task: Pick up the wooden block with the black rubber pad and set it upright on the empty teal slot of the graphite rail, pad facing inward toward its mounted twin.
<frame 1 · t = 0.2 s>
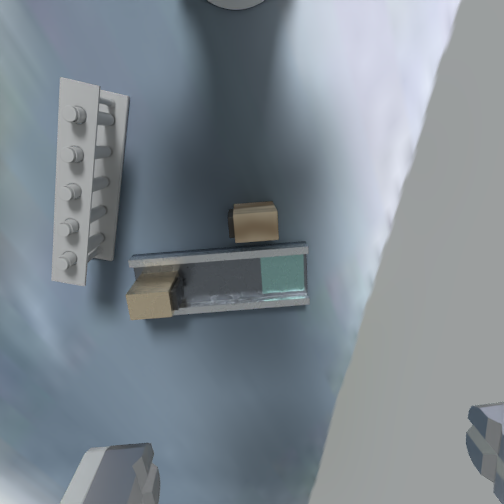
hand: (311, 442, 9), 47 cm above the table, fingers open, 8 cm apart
wooden block: (253, 215, 55), on the table
rail: (222, 276, 58), on the table
test tube rack: (107, 180, 53), on the table
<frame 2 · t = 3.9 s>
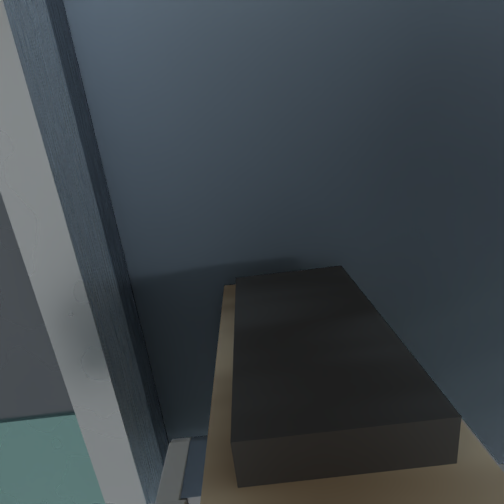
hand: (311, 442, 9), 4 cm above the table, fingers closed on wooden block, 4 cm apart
wooden block: (291, 356, 12), on the table, touching gripper
when the fingers open (6 cm above the table, at t = 9.5 s): wooden block stays where it is, resting on rail.
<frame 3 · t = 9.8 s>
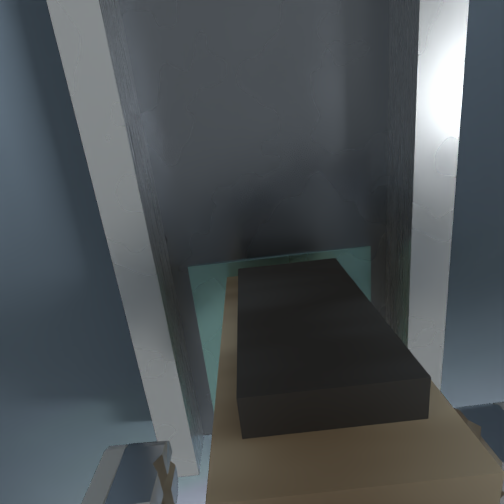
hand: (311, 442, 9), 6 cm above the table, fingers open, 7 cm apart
wooden block: (289, 344, 13), point 1 cm above the table, touching rail
rail: (258, 54, 11), on the table
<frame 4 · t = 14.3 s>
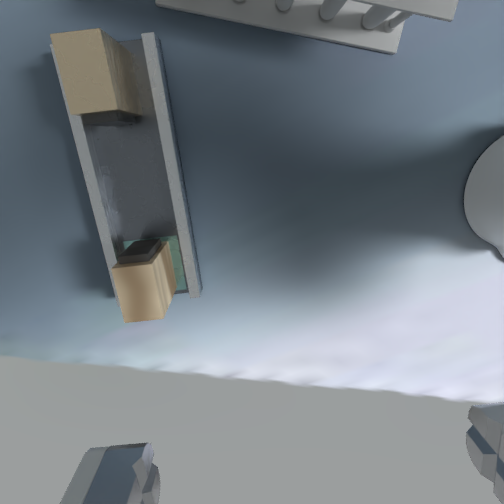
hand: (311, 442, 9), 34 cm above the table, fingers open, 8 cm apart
wooden block: (156, 266, 42), point 1 cm above the table, touching rail
rail: (140, 182, 40), on the table
test tube rack: (282, 7, 35), on the table
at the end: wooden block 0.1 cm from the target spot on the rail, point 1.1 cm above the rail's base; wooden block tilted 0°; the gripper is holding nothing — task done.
